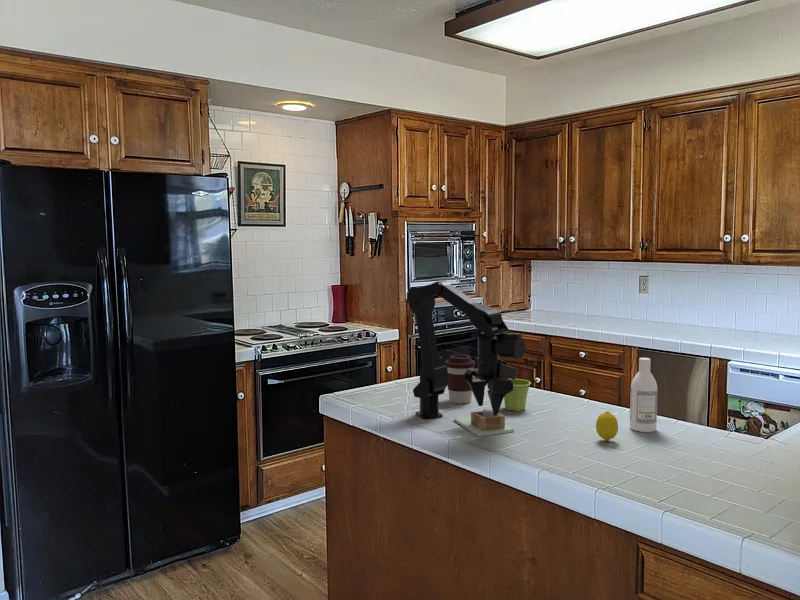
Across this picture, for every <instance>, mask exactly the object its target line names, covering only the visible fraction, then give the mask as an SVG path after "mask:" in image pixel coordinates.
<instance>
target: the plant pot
mask: <svg viewBox="0 0 800 600" xmlns="http://www.w3.org/2000/svg"><path fill="white" fill-rule="evenodd" d="M508 379H509V380H511V381H512V382H513V383H514V390H513V391H511V392H510V393H507V394H506V395H505V396H504V398H503V400H504V409H506V410H507V411H514V412H521V411H524V410H525V409H526V404H527V397H528V393H529V392H528V391H529V389H530V385H531V384H532V382H531V381H530V380H526V379H521V378H515V380H513V379H511V378H508Z"/></svg>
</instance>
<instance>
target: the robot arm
mask: <svg viewBox="0 0 800 600" xmlns="http://www.w3.org/2000/svg"><path fill="white" fill-rule="evenodd" d="M438 298H442V299H443V300H444V301H446V302H447V303H449V304H450V305H452V307H454V308H456V309H457V310H458V311H460V312H461V313H463V314H464V315H465V316H466V317H467V318H468V320H469V322H470V324H471V325H472V326H474V327H475V328H476V330H475V332H474V333H472V334H471V338H472V339H477V357H474V361H475V363H477V367H476V368H473V369H467V370H466V372H465V379H466V380H467V383H468V384H469V386H470V388H471V390H472V395H473V396H474V398H475V400H476V403H477V405H478V407H482V406H483V405H484V398H485V388H486V386H487V389H488V390H487V394H488V395H487V396H488V398H489V403H490V406H491V408H492V409H491V410H493V412H494V414H498V413H500V409H501V407H502V404H503V403H502V402H503V400H504V396H505V395H506V394H507V393H510V392H511V391H513V390H514V383H513V382H512V381H511V380H509V379H513V380H515V379H517V378H516V377H517V374H518V372H519V369H518V368H515V367H513V366H510V365H508V362H507V361H505V360H502V358H508V359H515V360H521V359H522V358H524V356H525V353H526V347H527V346H526V344H525V340H524V339H523V338H522V334H521V333H518V332H517V333H516V332H515V333H511V331H510V330H509V328H508V326H507V324H506V322H505V321H504V320H503V317H502V316H503V315H502V313H501V311H499V310H497V309H495V308H493V307H491V306H488V305H486V304H485V305H484V304H481V303H478V302H477V301H475V300H474V299H473V298H471V297H469V296H468V295H467V294H465V293H464V292H462V291H461V290H459V289H458V288H456V287H455V286H453V285H452V284H451V283H450V282H449V281H447V280H439V281H438V280H437V281H435V282H432V283H431V284H427V285H417V286H412V287H410V288H409V289H408V290H407V291H406V299H407V304H408V307H409V309H410V311H411V312H412V313H413V315H414V317H415V319H416V327H417V333H418V339H419V345H420V353H421V361H422V365H421V369H420V371H419V383H418V384H417V385H416V386H415V387H414V388H413V389H412V393H413V396H414V398H418V399H419V411H416V412H415V414H416V415H417V416H418V417H420V418H422V419H424V420H426V419H431V418H433V419H434V418H443V416H444V415H443V414H442V413H440V412H439V409H440V408H439V403H440V402H439V396H440V395H444V394H445V391H446V388H448V379H450V378H449V376H448V368H447V366H445V365H443V364H442V363H441V362H440V358H439V352H438V345H437V339H436V331H435V326H434V318H433V312H434V310H435V306H436V299H438ZM499 357H502V358H499Z"/></svg>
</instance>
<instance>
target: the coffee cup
mask: <svg viewBox="0 0 800 600" xmlns="http://www.w3.org/2000/svg"><path fill="white" fill-rule="evenodd" d="M444 366H447V368H448V376H449V378H450V379H448V385H447V389H448V400H449V401H448V402H450V403H452V404H457V403H459V405H461V404H462V403H465V404H469V403H471V401H472V395H473V392H472V390H471V388H470V386H469V384H468V383H467V380H466V379H465V372H466V370H467V369H475V367H476V361H475V359H474V360H473V359H472V357H471V356H470V355H465V354H455V355H449V358H448V359H446V360H445V361H444Z"/></svg>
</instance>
